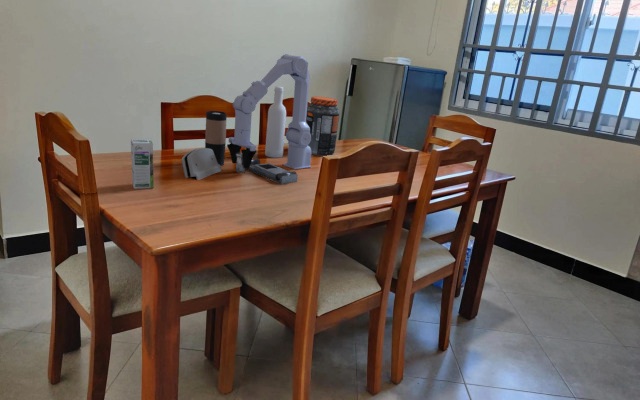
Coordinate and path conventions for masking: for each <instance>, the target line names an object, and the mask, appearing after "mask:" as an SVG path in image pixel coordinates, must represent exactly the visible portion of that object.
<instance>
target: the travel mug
mask: <svg viewBox="0 0 640 400" xmlns="http://www.w3.org/2000/svg"><path fill="white" fill-rule="evenodd" d="M227 115H228V114H227V113H226V112H224V111H219V110H207V111H206V112H205V117H206V118H205V134H204V135H205V136H204V137H205V138H204V139H205V140H204V148H209V149H212V150H213V152H214V155H215V157H216V160H217V163H218V164H219V165H220V166H221V167H222V166H224V164H225V157H226V156H225V155H226V154H225V153H226V146H227V144H226V140H227V139H226V138H227Z"/></svg>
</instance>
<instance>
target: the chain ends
mask: <svg viewBox="0 0 640 400" xmlns="http://www.w3.org/2000/svg"><path fill="white" fill-rule="evenodd" d="M245 170H247V171H250V172H252V173H254V174H257V175H259V176H261V177H264V178H266V179H267V180H271V181H272V182H276V184H279V185H288V184H293V183H297V182H298V175H299V174H297V172H296V171H289V170H287V169H285V168H282V167H280V166H277V165H275V164H272V163H267V162H266V163H261V160H260V159H259V158H253V159H252V161H251V164H250V167H249V168H246V169H245Z"/></svg>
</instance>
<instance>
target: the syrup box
mask: <svg viewBox="0 0 640 400" xmlns="http://www.w3.org/2000/svg"><path fill="white" fill-rule="evenodd" d="M130 151H131V152H130V153H131V154H130V155H131V157H130V158H131V179H132V180H131V183H132V186H133V189H134V190H137V189H139V190H141V189H154V187H155V185H154V184H155V183H154V143H153V141H152V139H133V138H132V139H130Z"/></svg>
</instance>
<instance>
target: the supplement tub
mask: <svg viewBox="0 0 640 400" xmlns="http://www.w3.org/2000/svg"><path fill="white" fill-rule="evenodd" d="M339 120H340V109H339V108H338V99H336V98H332V97H327V96H311V97H310V104H308V105H307V115H306V123H307V125H308V126H309V127H310V135H311V141H310V143H309V144H308V146H309V147H310V148H311V155H314V156H323V157H324V156H325V155H326V156H332V155H334V154H335V151H336V144H337V143H336V142H337V137H338V129H339ZM331 154H332V155H331Z"/></svg>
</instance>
